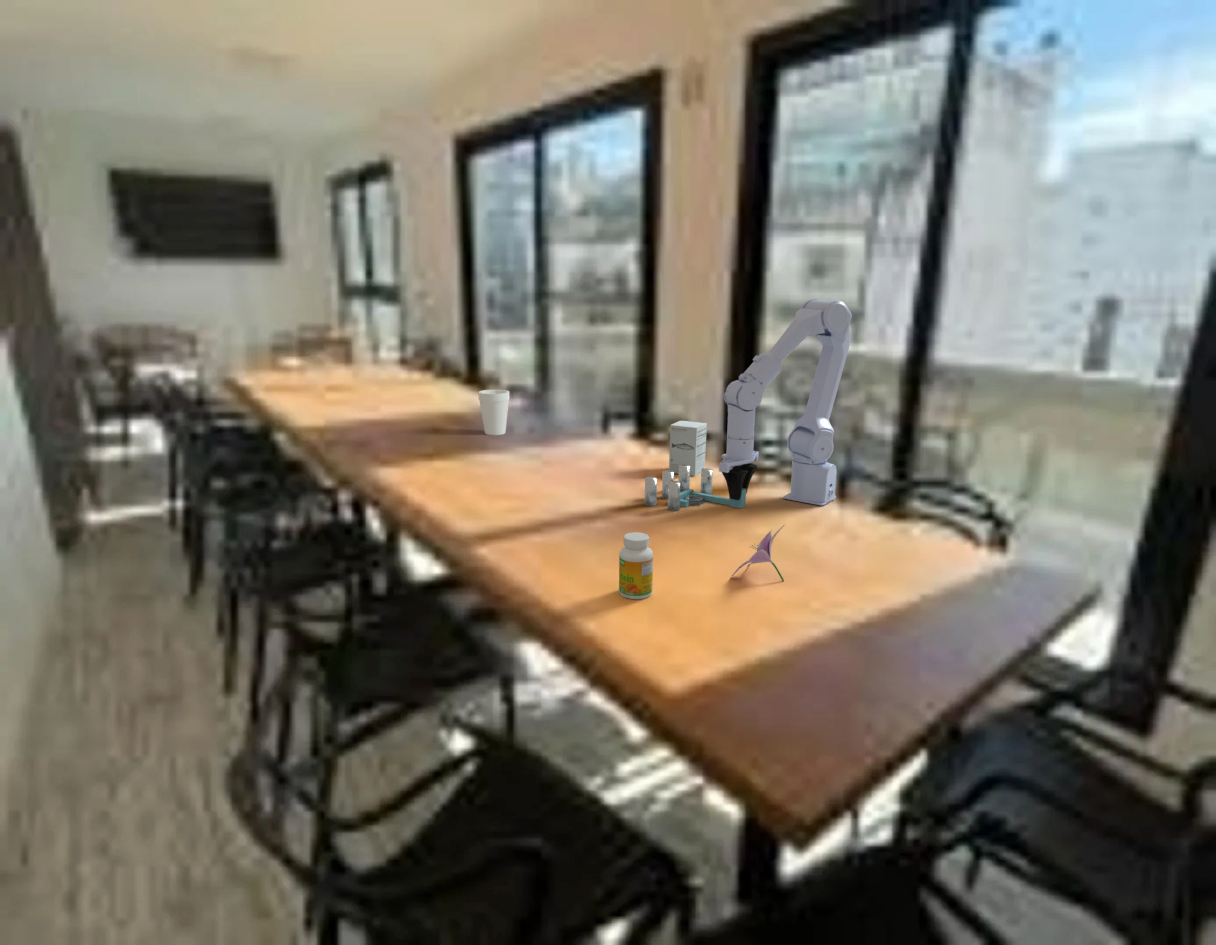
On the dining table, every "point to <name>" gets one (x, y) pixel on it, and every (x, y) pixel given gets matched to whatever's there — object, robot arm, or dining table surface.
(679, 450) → the supplement box
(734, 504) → the hook tool
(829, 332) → the robot arm
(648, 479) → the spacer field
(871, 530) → the dining table surface
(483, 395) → the foam cup
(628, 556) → the supplement bottle
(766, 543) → the lily
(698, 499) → the grey flat hexagonal block
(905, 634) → the dining table surface
